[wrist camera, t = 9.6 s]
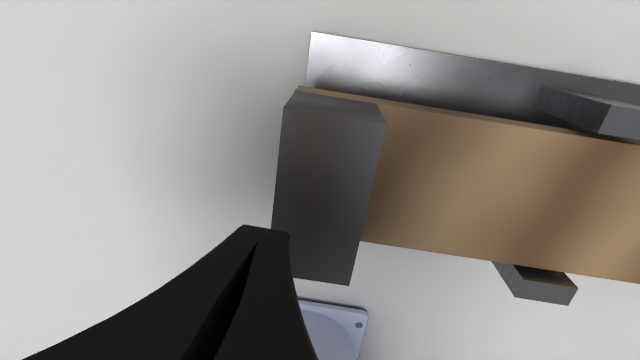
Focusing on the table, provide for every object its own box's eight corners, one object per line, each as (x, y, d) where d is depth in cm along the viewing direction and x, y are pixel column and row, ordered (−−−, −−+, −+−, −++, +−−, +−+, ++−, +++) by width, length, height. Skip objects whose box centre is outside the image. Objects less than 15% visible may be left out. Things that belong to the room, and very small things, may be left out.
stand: (817, 114, 16) (1010, 147, 11) (690, 280, 20) (794, 354, 15) (312, 31, 16) (300, 31, 11) (289, 215, 20) (272, 271, 15)
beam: (877, 178, 14) (1085, 235, 10) (775, 290, 16) (910, 371, 12) (298, 85, 13) (283, 107, 10) (283, 214, 16) (266, 273, 12)
